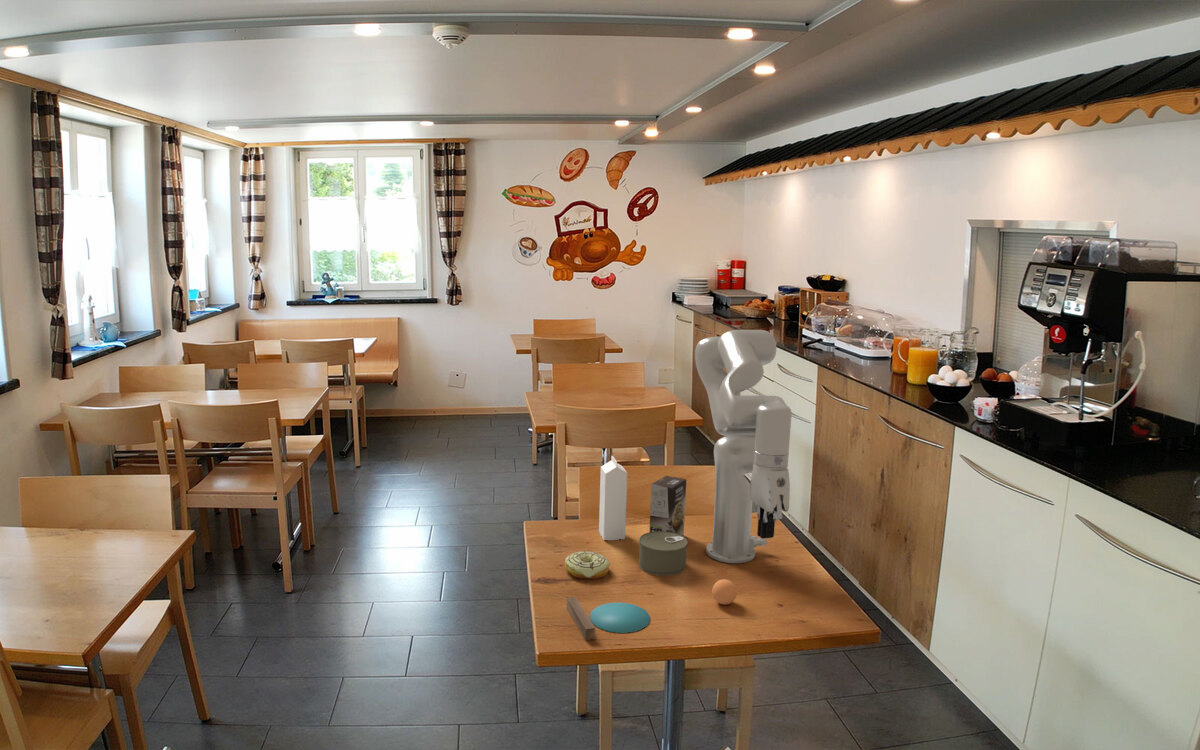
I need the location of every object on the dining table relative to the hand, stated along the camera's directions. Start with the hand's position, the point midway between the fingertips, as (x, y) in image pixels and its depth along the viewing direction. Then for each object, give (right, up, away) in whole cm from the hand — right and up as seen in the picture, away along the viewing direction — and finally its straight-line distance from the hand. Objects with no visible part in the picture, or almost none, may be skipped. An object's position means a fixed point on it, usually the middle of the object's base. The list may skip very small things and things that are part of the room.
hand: (765, 536), depth 183 cm
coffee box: (-19, -8, +36) cm, 42 cm away
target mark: (-33, -16, -8) cm, 38 cm away
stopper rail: (-42, -16, -10) cm, 46 cm away
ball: (-9, -12, 0) cm, 16 cm away
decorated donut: (-41, -12, +15) cm, 45 cm away
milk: (-34, -7, +36) cm, 50 cm away
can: (-22, -11, +19) cm, 31 cm away
